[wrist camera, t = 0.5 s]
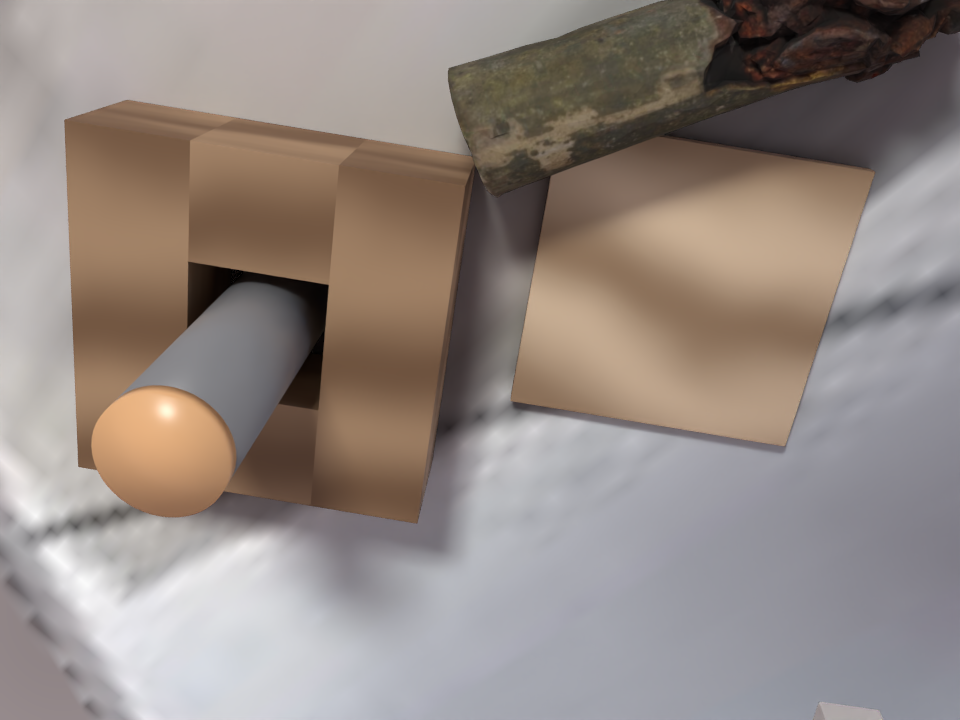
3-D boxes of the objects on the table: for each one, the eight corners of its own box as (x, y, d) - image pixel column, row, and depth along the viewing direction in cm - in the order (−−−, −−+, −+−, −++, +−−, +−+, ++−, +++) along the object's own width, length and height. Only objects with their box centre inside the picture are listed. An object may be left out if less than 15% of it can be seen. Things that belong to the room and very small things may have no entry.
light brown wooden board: (561, 118, 35) (561, 120, 34) (870, 168, 35) (875, 172, 34) (511, 394, 40) (510, 400, 39) (781, 439, 40) (785, 446, 39)
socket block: (126, 100, 36) (64, 119, 31) (476, 157, 36) (465, 185, 31) (130, 411, 41) (78, 466, 37) (432, 461, 41) (417, 523, 37)
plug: (246, 241, 38) (89, 383, 25) (340, 257, 38) (232, 407, 25) (242, 329, 39) (93, 505, 27) (333, 344, 39) (227, 527, 26)
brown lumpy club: (494, 189, 35) (485, 215, 30) (437, 14, 33) (417, 9, 28) (963, 37, 32) (1045, 36, 27) (931, -165, 30) (1013, -209, 25)
